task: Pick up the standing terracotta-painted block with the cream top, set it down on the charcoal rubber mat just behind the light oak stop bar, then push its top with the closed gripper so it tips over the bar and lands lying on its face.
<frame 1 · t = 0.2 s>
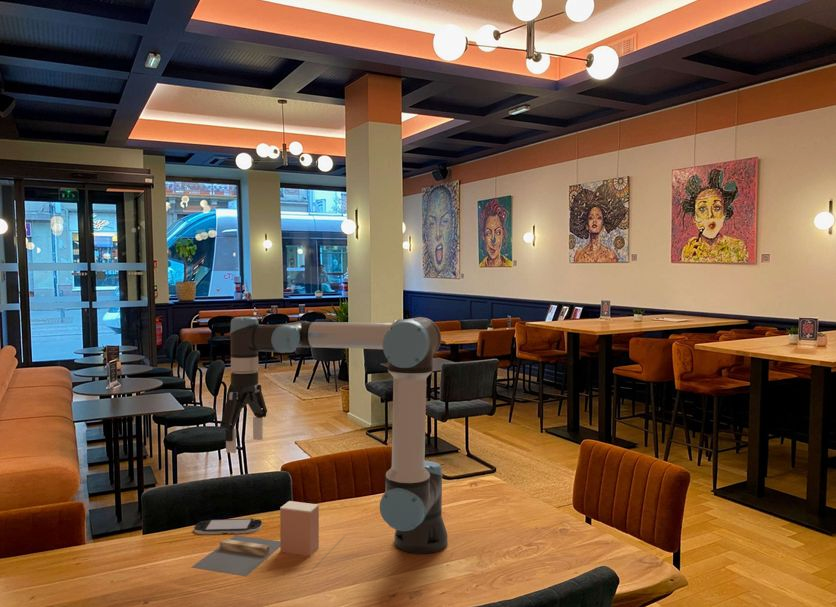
hand: (245, 445, 170), 27 cm above the table, fingers open, 13 cm apart
gaming console: (228, 532, 178), on the table
mat: (240, 557, 161), on the table
stop bar: (244, 550, 163), resting on mat
block: (299, 552, 164), on the table
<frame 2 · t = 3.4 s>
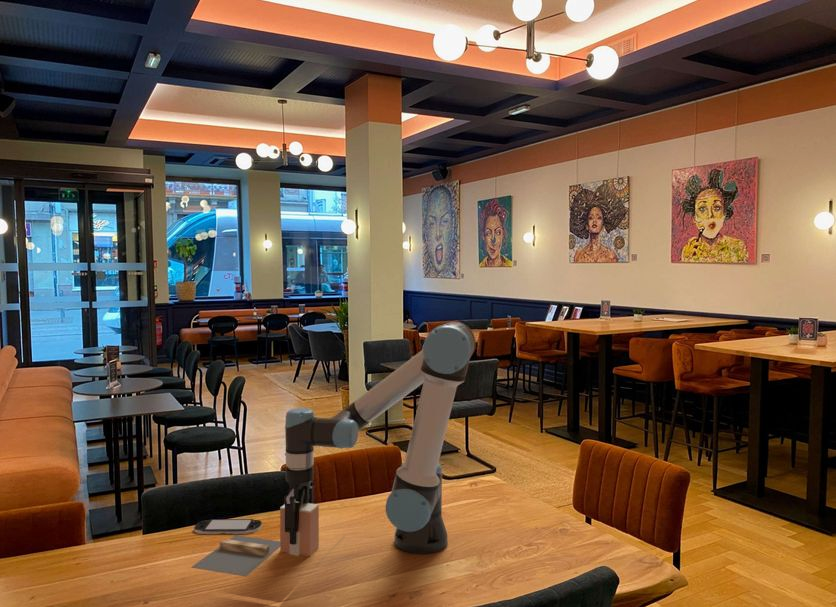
hand: (299, 549, 164), 1 cm above the table, fingers closed on block, 5 cm apart
block: (299, 552, 164), on the table, touching gripper
everything else where it was.
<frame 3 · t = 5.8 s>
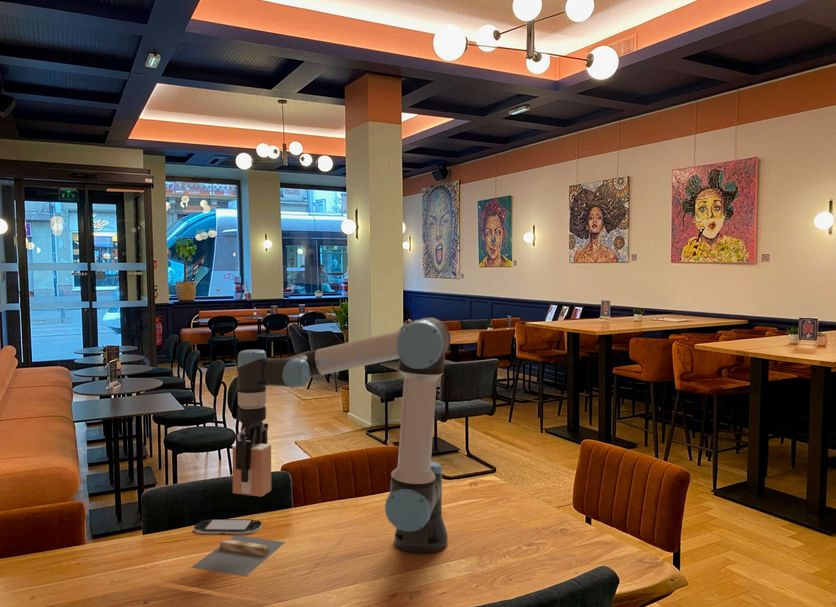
hand: (252, 489, 166), 17 cm above the table, fingers closed on block, 5 cm apart
block: (252, 491, 166), point 16 cm above the table, touching gripper
everything else where it was.
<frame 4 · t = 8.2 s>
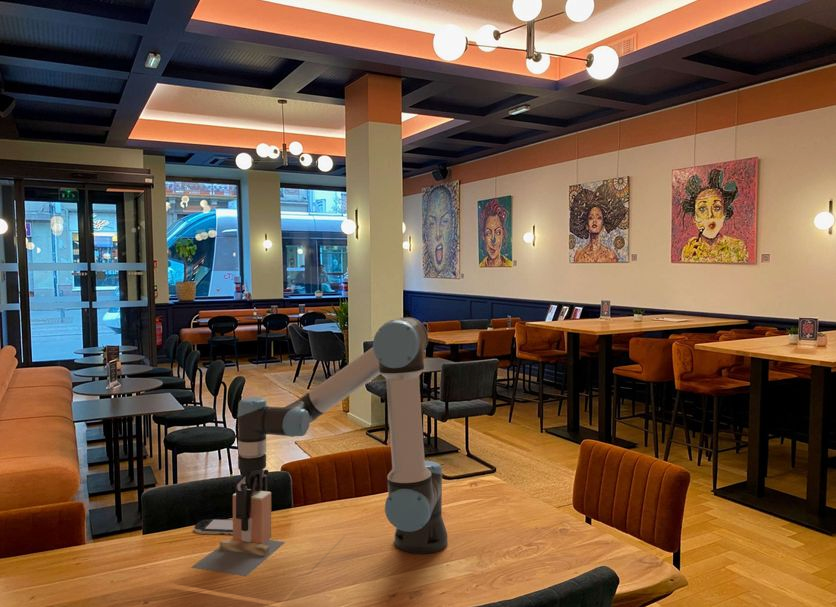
hand: (252, 536, 166), 3 cm above the table, fingers closed on block, 5 cm apart
block: (252, 539, 167), point 2 cm above the table, touching gripper
everything else where it was.
when the fingers open (3 cm above the table, at t = 8.6 s): block drops 1 cm, resting on mat.
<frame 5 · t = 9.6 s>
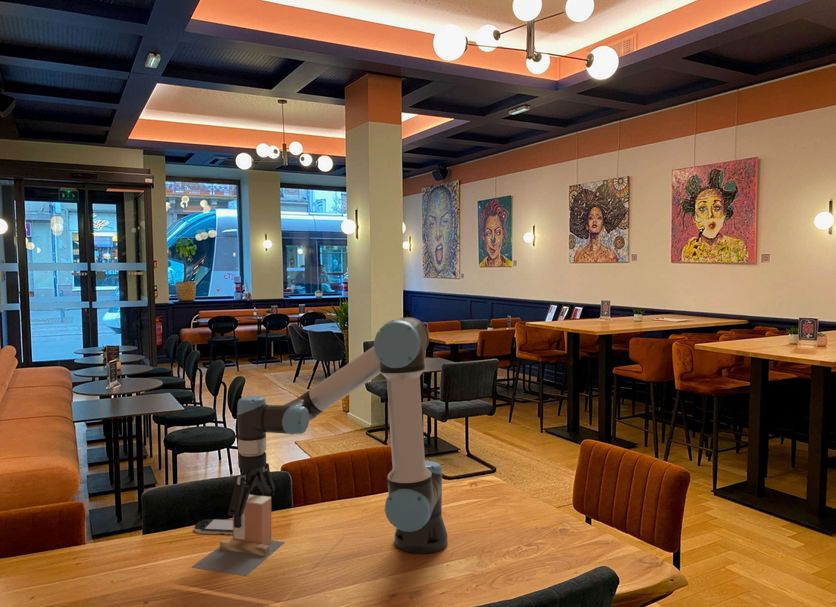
hand: (253, 528, 166), 5 cm above the table, fingers open, 13 cm apart
block: (252, 544, 167), point 1 cm above the table, touching mat
everything else where it was.
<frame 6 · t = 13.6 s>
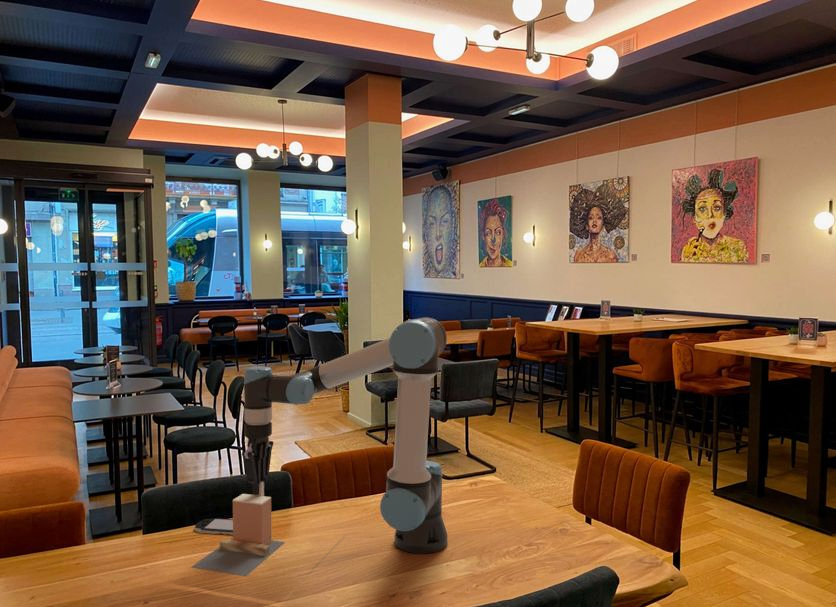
hand: (258, 504, 169), 11 cm above the table, fingers closed
block: (252, 544, 167), point 1 cm above the table, touching gripper, mat
everything else where it was.
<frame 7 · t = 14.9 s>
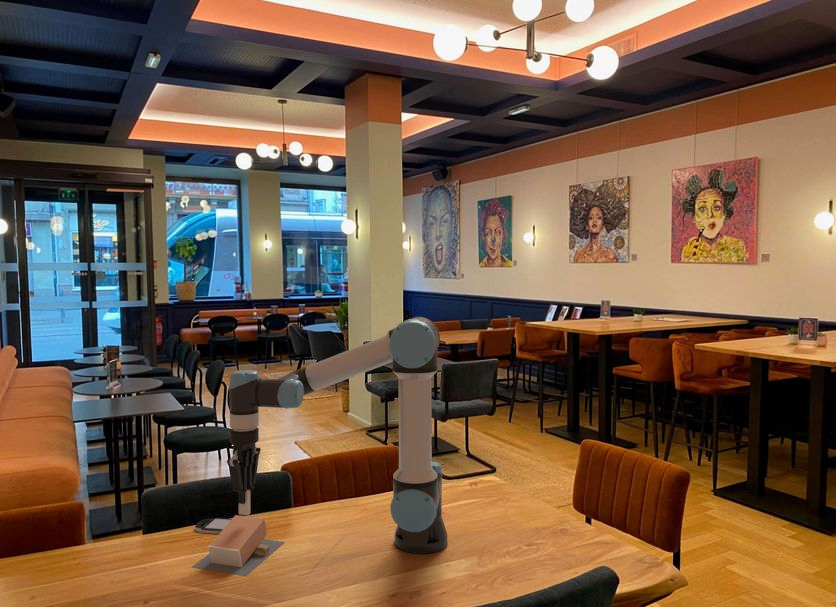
hand: (244, 513, 163), 11 cm above the table, fingers closed
block: (251, 524, 166), point 7 cm above the table, tilted 105°, touching mat, stop bar
everything else where it was.
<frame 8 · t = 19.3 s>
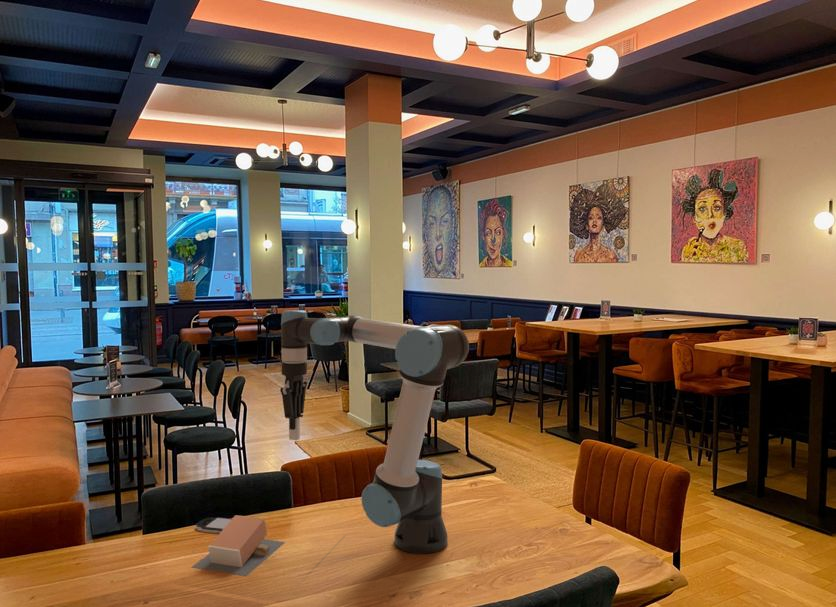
hand: (294, 439, 181), 26 cm above the table, fingers closed
at the end: block tilted 105°; block inside the target area (8.0 cm from its centre), point 6.6 cm above the table; the gripper is holding nothing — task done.
